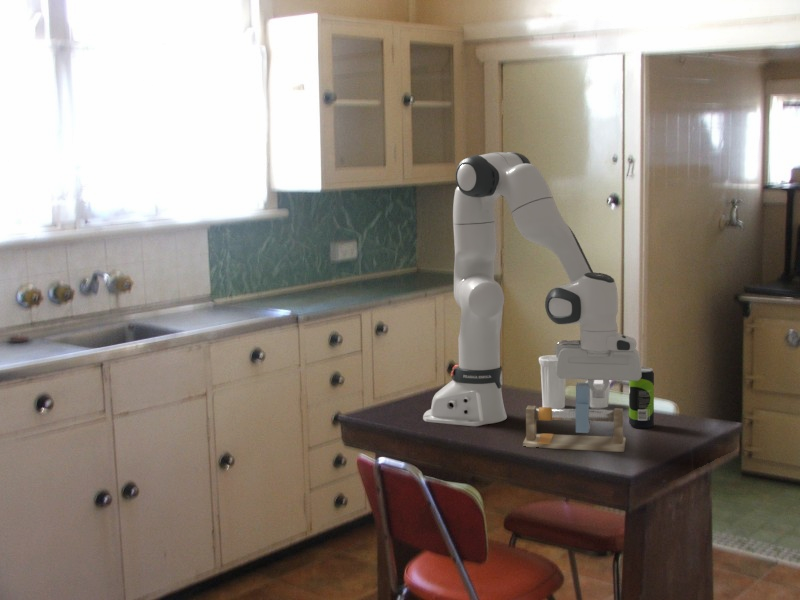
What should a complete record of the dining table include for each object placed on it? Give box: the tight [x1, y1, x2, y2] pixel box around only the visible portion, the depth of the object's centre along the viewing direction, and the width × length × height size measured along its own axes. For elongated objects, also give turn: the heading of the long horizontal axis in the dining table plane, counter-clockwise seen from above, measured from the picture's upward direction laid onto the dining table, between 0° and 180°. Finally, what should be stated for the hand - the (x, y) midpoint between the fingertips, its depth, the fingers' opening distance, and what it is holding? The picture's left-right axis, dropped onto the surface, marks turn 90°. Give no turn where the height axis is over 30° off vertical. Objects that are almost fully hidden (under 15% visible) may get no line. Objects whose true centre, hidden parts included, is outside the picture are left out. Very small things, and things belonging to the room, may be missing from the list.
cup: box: [538, 354, 567, 409], centre depth 297 cm, size 8×8×14 cm
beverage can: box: [628, 366, 655, 430], centre depth 275 cm, size 6×6×15 cm
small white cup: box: [585, 380, 611, 409], centre depth 299 cm, size 7×7×7 cm
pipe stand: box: [522, 405, 626, 453], centre depth 259 cm, size 24×9×9 cm, turn 76°
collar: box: [575, 381, 591, 434], centre depth 258 cm, size 3×7×11 cm, turn 166°
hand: (598, 397), depth 257 cm, fingers closed
